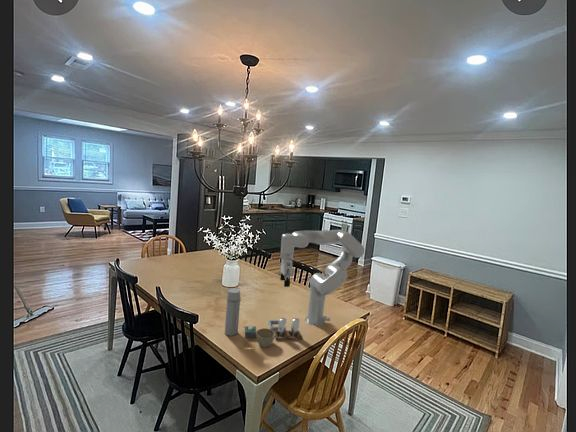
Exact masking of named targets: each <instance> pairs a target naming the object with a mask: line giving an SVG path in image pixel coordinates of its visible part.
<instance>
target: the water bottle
mask: <svg viewBox="0 0 576 432" xmlns="http://www.w3.org/2000/svg"><path fill="white" fill-rule="evenodd" d="M226 295H227V296H226V308H225V309H226V310H225V320H224V321H225V322H224V323H225V324H224V333H225V335H227V336H230V337H231V336H235V335H237V334H238V332H239V320H240V307H241V306H240V305H241V302H242V298H241V290H240V289H239V288H234V287H232V288H228V289H227V294H226Z"/></svg>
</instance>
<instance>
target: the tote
mask: <svg viewBox="0 0 576 432" xmlns="http://www.w3.org/2000/svg"><path fill="white" fill-rule="evenodd" d="M268 324H269V329H271V330H273V331H278V326H272V324H279V319H277V320H276V319H273V320H272V319H269V320H268Z"/></svg>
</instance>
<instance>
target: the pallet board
mask: <svg viewBox="0 0 576 432" xmlns="http://www.w3.org/2000/svg"><path fill="white" fill-rule="evenodd" d="M273 331H274V332H275V337H274V340H275V341H302V340H303V336H302V334H301V332H300V330H299V329H298V337H291V336H290V335H291V330H285V337H278V330H273Z"/></svg>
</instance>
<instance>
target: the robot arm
mask: <svg viewBox="0 0 576 432" xmlns="http://www.w3.org/2000/svg"><path fill="white" fill-rule="evenodd" d="M309 243H310V244H311V243H312V244H315V245H318V246H319V245H320V246H326V245H336V244H338V245H340V246H342V248H341V253H340V255H339V256H338V257H337V258H336V259H335V260H334V261H332V262H331V263H330V264H328V265H327V266H326V268H325V269H324V274H325V275H326V276H325V275H324V274H323V273H320V272H316V273H314V274H313V273H312V274H313V275H311V276H310V279H309V287H310V288H309V299H308V309H307V317H305V318H304V322H305V323H306V324H307V325H310V326H313V327H314V326H315V327H321V326H322V327H324V326H325V325H326V324H325V323H326V322H328V321H329V322H330V321H331V318H330V317H328V316H327V315H325V316H324V311H325V301H326V296H329V295H331V294H332V293H334V292H335V291H336V290H338V288H340V287H341V286H342V285H344V284H345V282H346V280H347V279H348V272H347V269H348V268H349V267H350V266H351V265H352V262H353V258H362V257H363V255H364V254H365V248H364V245H363V244H362V243H361V242H359V241H358V240H357V238H356V237H354V235H352V233H350V232H348V231H346V230H343V229H331V230H297V231H293V232H292V233H283V234H282V235H281V241H280V245H281V246H280V255H279V256H280V260H281V261H280V278H279V280H280V281H284V282H283V284H284V285H283V286H284V287H285V288H290V286H291V277H292V276H293V259H294V253H295V252H294V251H295V248H300V249H305V248H306V247H308V246H309Z"/></svg>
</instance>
